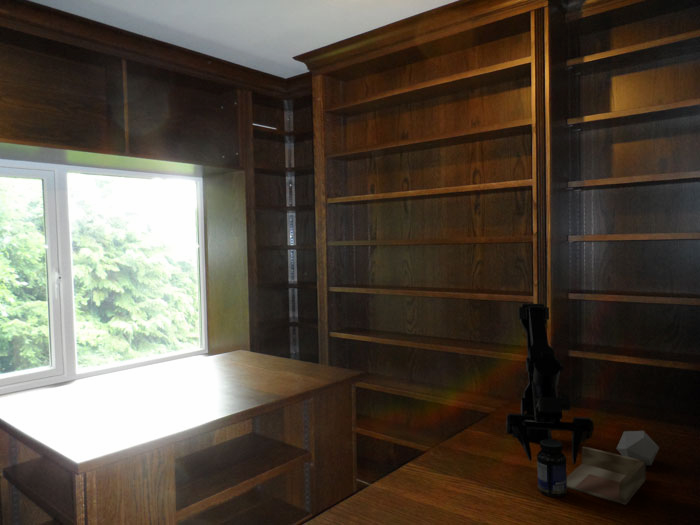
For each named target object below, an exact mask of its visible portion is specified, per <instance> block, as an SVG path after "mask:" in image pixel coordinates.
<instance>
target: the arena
mask: <svg viewBox="0 0 700 525" xmlns="http://www.w3.org/2000/svg"><path fill="white" fill-rule="evenodd" d="M646 471H647V465H646V461H644V460H639V459H635V458H631V457H627V456H622V455H621V454H617V453H614V452H609V451H604V450H600V449H595V448H593V447H588V446H582V447H581V464H580V465H579V466H578V467H576V468H575V469H574V470H572V472H570V473H569V474H568V475H567V489H569V490H570V489H571V490H575V491H577V492H580V493H584V494H587V495H590V496H594V497H598V498H601V499H604V500H608V501H610V502H614V503H615V502H616V503H618V504H621V505H627V504H628V503H629V502H630V500H631V499H632V497H633V496H634V495H635V494H636V493H637V491H638V490H639V489H640V488H641V486H642V485H643V484H644V483H645V482H646V480H647V477H646V475H647V472H646Z"/></svg>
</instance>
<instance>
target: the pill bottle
mask: <svg viewBox="0 0 700 525" xmlns="http://www.w3.org/2000/svg"><path fill="white" fill-rule="evenodd" d="M539 448H540V450H539V451H538V452H537V454H536V457H537V458H536V462H537V464H536V465H537V466H536V467H537V490H538V491H539V492H540V493H541V494H542V495H545V496H548V497H554V498H559V497H563V496H564V497H565V495H567V493H568V488H567V476H568V475H567V457H566V455H565V454H564V453H563V452H562V451H563V443H562V442H561V441H560V440H556V439H545V440H542V441H540V443H539Z"/></svg>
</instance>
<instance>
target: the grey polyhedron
mask: <svg viewBox="0 0 700 525" xmlns="http://www.w3.org/2000/svg"><path fill="white" fill-rule="evenodd" d="M659 449H660V447H659V446H658V445H657V444H656V442H655V441H654V440H653V439H652V438H651V437H650V436H649V434H647V433H646V432H645V430H626V431H623V433H622V435H621V438H620V439H619V443H618V444H617V446H616V450H617V452H619V453H620V455H622V456H627V457H631V458H635V459H639V460H644V461H646V466H652V464H653V462H654V460H655V458H656V455H657V453H658V451H659Z"/></svg>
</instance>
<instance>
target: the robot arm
mask: <svg viewBox="0 0 700 525" xmlns="http://www.w3.org/2000/svg"><path fill="white" fill-rule="evenodd" d="M517 315H518V317H517V318H518V320H520V326H521V328H522V330H523V331H524V332H525V334H526V352H527V354H526V355H527V357H526V358H525V369H526V370H525V371H526V372H527V373H528V374H527V376H528V383H527V385H526V387H525V389H524V391H523V397H521V399H520V413H511V412H509V413H508V414H506V424H505V426H506V434H508V435H510V436H511V435H512V438H514V439H517V440H518V442H519V443H520V445H521V446H522V449H523V450H524V452H525V455H526V457H527V459H528V461H530V462H532V451H531V450H532V449H531V445H530V442H532V443H536V444H540V441H542V440H545V439H551V440H553V436H552V431H559V432H562V431H563V432H571V436H572V437H571V459H572V464H573V465H576V463H577V457H578V452H579V448H580V445H581V443H586V440H591V439H592V437H593V434H594V429H595V425H594V421H593V420H592V419H591V418H590V417H588V416H587V417H586V416H585V417H584V416H573V418H572V421H569V422H568V421H562V420H563V411H570V410H571V398H570V395H569V394H568V395H567V394H560V396H558V395H559V394H558V389H557V386H558V384H559V379H560V374H561V372H563V370H564V369H563V365H562V363H561V362H560V361H559V359H558V358H557V357H556V355H555V353H556V352H555V349H553V347H552V346H550V344H549V341H548V335H547V326H546V324H547V320H550V307H546V306H545V305H544V303H522V304H521V306H518V308H517Z"/></svg>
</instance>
